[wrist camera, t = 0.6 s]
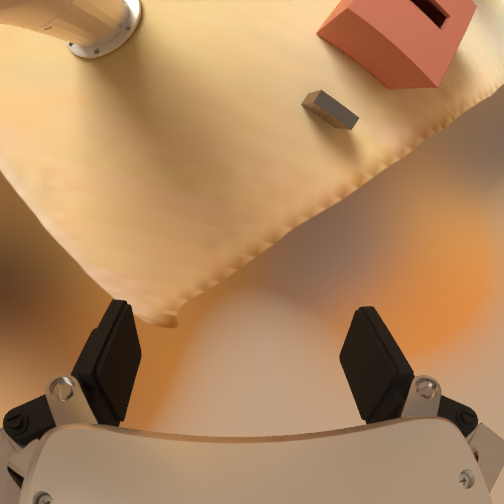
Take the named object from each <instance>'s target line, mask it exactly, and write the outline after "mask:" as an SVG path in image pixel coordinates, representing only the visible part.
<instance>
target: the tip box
mask: <svg viewBox="0 0 504 504" xmlns="http://www.w3.org/2000/svg"><path fill="white" fill-rule="evenodd" d="M476 7H477V6H476V5H475V4H474V2H473V1H472V0H341V1H340V3H339V4H338V5H337V7H336V8H335V9H334V10H333V12H332V13H331V14H330V16H329V17H328V18H327V20H326V21H325V22H324V24H323V25H322V26H321V28H320V29H319V30H318V32H317V33H316V34H318V35H319V36H321V37H322V38H324V39H325V40H327V41H328V42H330V43H331V44H333V45H334V46H335V47H337V48H338V49H340V50H341V51H343V52H344V53H345V54H347V55H348V56H349V57H351V58H352V59H353V60H355V61H356V62H357V63H359V64H360V65H361V66H362V67H364V68H365V69H366V70H367V71H369V72H370V73H371V74H372V75H373V76H375V77H376V78H377V79H378V80H379V81H381V82H382V83H383V84H384V85H385V86H386V87H387V88H389V89H405V88H437V87H438V86H439V84H440V82H441V80H442V78H443V76H444V74H445V72H446V70H447V69H448V67H449V65H450V63H451V61H452V59H453V57H454V55H455V53H456V51H457V49H458V47H459V45H460V42H461V40H462V38H463V36H464V34H465V32H466V30H467V27H468V25H469V23H470V21H471V18H472V16H473V14H474V11H475V9H476Z"/></svg>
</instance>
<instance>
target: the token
mask: <svg viewBox="0 0 504 504" xmlns="http://www.w3.org/2000/svg"><path fill="white" fill-rule="evenodd" d="M302 105H303V106H305V107H306V108H308V109H309V110H311V111H312V112H314V113H315V114H317V115H318V116H320V117H321V118H322V119H324V120H325V121H327V122H328V123H330V124H331V125H332V126H334V127H335V128H342V129H348V130H352V128H353V127H354V125H355V124H356V122H357V121H358V119H359V117H357V116H356V115H355V114H353V113H352V112H351V111H350V110H348V109H347V108H346V107H344V106H343V105H342V104H340V103H339V102H338V101H336V100H335V99H333V98H332V97H331V96H329V95H328V94H326V93H325V92H324V91H322V90H320V91H316V92H312V93H309V94H308V95H307V97H306V98H305V100H304V101H303V103H302Z"/></svg>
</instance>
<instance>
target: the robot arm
mask: <svg viewBox="0 0 504 504" xmlns="http://www.w3.org/2000/svg"><path fill="white" fill-rule="evenodd" d="M140 17H141V3H140V1H139V0H0V24H7V25H13V26H17V27H21V28H25V29H29V30H32V31H36V32H39V33H43V34H46V35H49V36H53V37H56V38H59V39H62V40H65V41H66V44H67V47H68V48H69V50H70V51H71V52H72V53H73V54H75V55H77V56H79V57H83V58H98V57H101V56H104V55H106V54H109V53H111V52H112V51H114V50H116V49H117V48H119V47H120V46H121V45H122V44H123V43H125V42H126V40H127V39H128V38H129V37H130V36H131V35H132V33H133V32H134V30H135V29H136V27H137V25H138V23H139V20H140ZM130 28H131V29H130ZM129 29H130V30H129ZM98 52H99V53H98ZM140 360H141V348H140V344H139V339H138V335H137V331H136V327H135V321H134V317H133V312H132V307H131V305H130V304H127V301H125V300H112V301H111V303H110V305H109V307H108V309H107V310H106V312H105V314H104V316H103V318H102V320H101V322H100V324H99V326H98V328H97V329H94V330H93V331H92V332H91V334H90V336H89V338H88V340H87V342H86V344H85V346H84V348H83V350H82V352H81V354H80V356H79V358H78V360H77V362H76V365H75V366H74V369H73V371H72V373H71V375H68V374H59V375H56V376H54V377H53V378H51V379H50V380H49V381H48V383H47V384H46V387H45V395H43V396H40V397H38V398H36V399H34V400H32V401H29V402H27V403H25V404H23V405H20V406H18V407H16V408H13V409H11V410H10V411H9V412H8V413H7V414H6V415H5V417H4V420H3V427H2V428H1V429H0V504H492V500H491V497H490V494H489V493H490V491H491V489H492V487H493V485H494V484H495V481H496V480H497V478H498V476H499V474H500V472H501V469H502V468H503V465H504V440H503V439H502V438H501V437H499V436H498V435H497V434H496V433H494V432H493V431H492V430H490V429H489V428H488V427H487V426H485V425H484V424H483V423H482V422H481V423H480V424H478V418H477V415H476V413H475V412H474V411H473V410H472V409H471V408H469V407H467V406H465V405H463V404H460V403H458V402H456V401H454V400H451V399H449V398H447V397H445V396H442V395H441V387H440V385H439V383H438V382H437V381H436V380H435V379H434V378H432V377H430V376H427V375H419V376H416V377H415V376H414V374H413V373H414V372H413V370H412V368H411V367H410V365H409V363H408V361H407V360H406V358H405V357H404V355H403V353H402V351H401V350H400V348H399V346H398V345H397V343H396V341H395V340H394V338H393V337H392V335H391V333H390V332H389V330H388V328H387V327H386V325H385V324H384V322H383V321H382V319H381V317H380V316H379V314H378V313H377V311H376V310H375V308H374V307H372V306H367V307H360V308H359V309H358V310H356V311H355V314H354V316H353V320H352V322H351V326H350V328H349V331H348V333H347V336H346V339H345V342H344V345H343V347H342V350H341V353H340V362H341V365H342V368H343V370H344V373H345V375H346V378H347V380H348V383H349V386H350V389H351V391H352V394H353V396H354V399H355V402H356V405H357V407H358V410H359V413H360V415H361V418H362V419H363V420H365V421H366V424H367V425H361V426H356V427H350V428H344V429H338V430H331V431H324V432H316V433H307V434H297V435H285V436H268V437H207V436H190V435H178V434H167V433H159V432H151V431H143V430H136V429H129V428H123V427H119V424H120V421H124V419H125V415H126V411H127V407H128V404H129V400H130V396H131V392H132V389H133V385H134V381H135V378H136V374H137V370H138V367H139V364H140Z"/></svg>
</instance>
